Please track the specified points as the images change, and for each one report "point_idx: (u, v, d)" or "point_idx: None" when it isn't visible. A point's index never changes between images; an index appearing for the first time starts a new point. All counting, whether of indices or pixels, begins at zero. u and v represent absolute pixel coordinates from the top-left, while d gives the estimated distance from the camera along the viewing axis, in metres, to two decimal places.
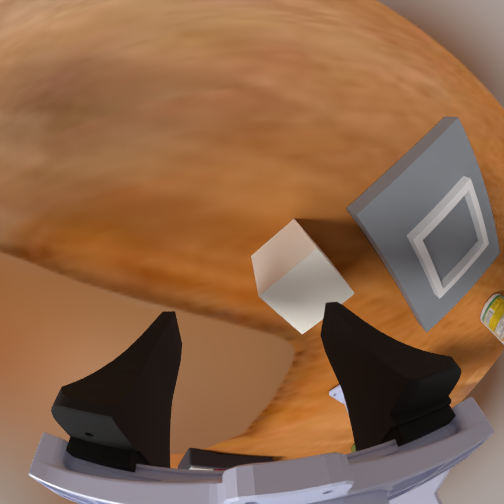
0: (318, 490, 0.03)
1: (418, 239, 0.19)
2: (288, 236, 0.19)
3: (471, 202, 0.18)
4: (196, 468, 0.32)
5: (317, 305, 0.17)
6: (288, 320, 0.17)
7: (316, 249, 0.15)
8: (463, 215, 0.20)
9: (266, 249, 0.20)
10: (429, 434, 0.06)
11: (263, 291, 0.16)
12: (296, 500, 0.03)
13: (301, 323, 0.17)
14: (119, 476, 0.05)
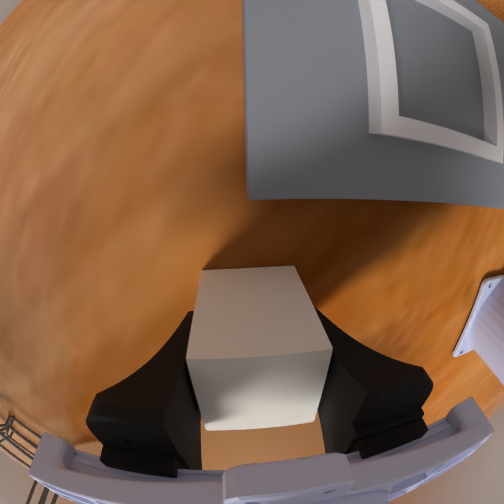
0: (318, 490, 0.03)
1: (390, 122, 0.08)
2: None
3: None
4: None
5: (289, 397, 0.09)
6: (274, 425, 0.09)
7: (188, 360, 0.08)
8: (419, 15, 0.07)
9: None
10: (398, 448, 0.06)
11: (205, 423, 0.09)
12: (296, 500, 0.03)
13: (296, 418, 0.09)
14: (119, 476, 0.05)
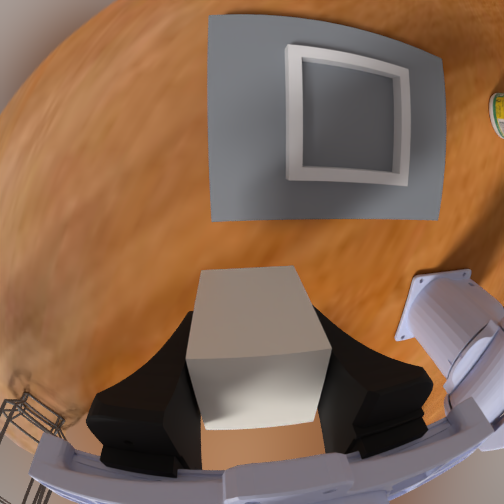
0: (318, 490, 0.03)
1: (295, 172, 0.15)
2: None
3: (325, 60, 0.13)
4: None
5: (288, 397, 0.09)
6: (273, 425, 0.09)
7: (188, 360, 0.08)
8: (337, 80, 0.14)
9: None
10: (398, 447, 0.06)
11: (204, 423, 0.09)
12: (296, 500, 0.03)
13: (295, 418, 0.09)
14: (119, 476, 0.05)
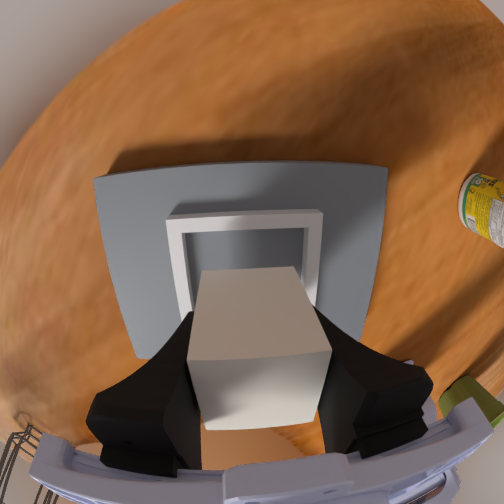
0: (318, 490, 0.03)
1: None
2: None
3: (210, 229, 0.15)
4: None
5: (289, 398, 0.09)
6: (273, 425, 0.10)
7: (189, 361, 0.08)
8: (230, 241, 0.16)
9: None
10: (398, 447, 0.06)
11: (205, 423, 0.09)
12: (296, 500, 0.03)
13: (295, 418, 0.09)
14: (119, 476, 0.05)
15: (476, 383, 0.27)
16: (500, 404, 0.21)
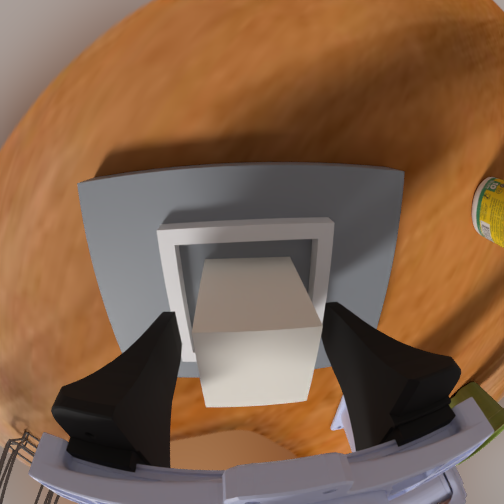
0: (318, 490, 0.03)
1: (187, 356, 0.16)
2: None
3: (207, 241, 0.13)
4: None
5: (283, 373, 0.10)
6: (269, 403, 0.11)
7: (193, 334, 0.09)
8: (229, 254, 0.14)
9: None
10: (429, 434, 0.06)
11: (205, 400, 0.10)
12: (296, 500, 0.03)
13: (290, 396, 0.11)
14: (119, 476, 0.05)
15: (481, 390, 0.25)
16: None
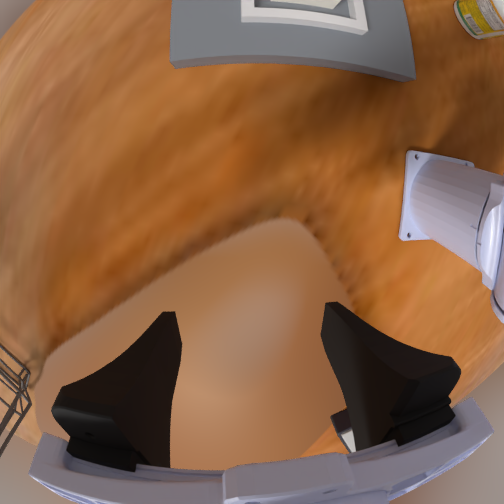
0: (318, 490, 0.03)
1: (248, 11, 0.12)
2: None
3: None
4: (347, 433, 0.29)
5: None
6: None
7: None
8: None
9: None
10: (429, 434, 0.06)
11: None
12: (296, 500, 0.03)
13: None
14: (119, 476, 0.05)
15: None
16: None
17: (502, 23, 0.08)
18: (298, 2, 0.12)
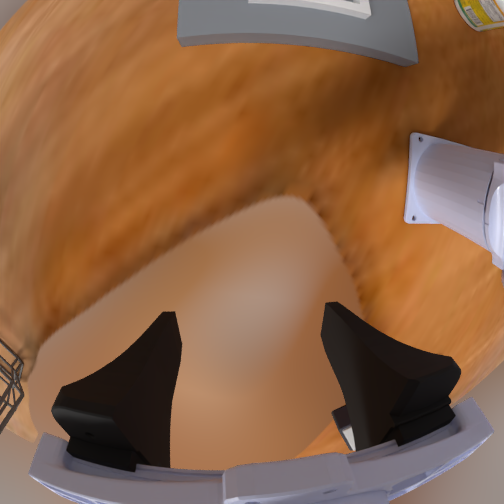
0: (318, 490, 0.03)
1: None
2: None
3: None
4: (348, 429, 0.28)
5: None
6: None
7: None
8: None
9: None
10: (429, 434, 0.06)
11: None
12: (296, 500, 0.03)
13: None
14: (119, 476, 0.05)
15: None
16: None
17: (501, 14, 0.07)
18: None
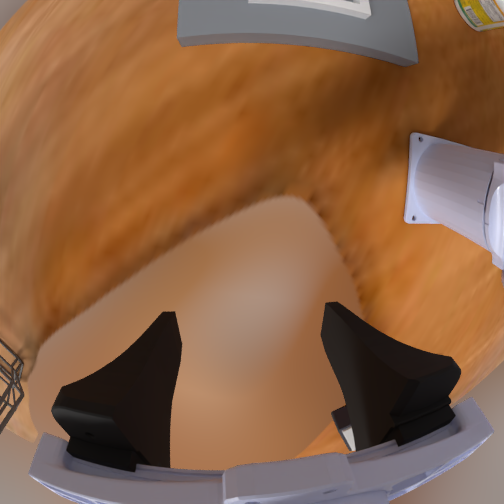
0: (318, 490, 0.03)
1: None
2: None
3: None
4: (348, 429, 0.29)
5: None
6: None
7: None
8: None
9: None
10: (429, 434, 0.06)
11: None
12: (296, 500, 0.03)
13: None
14: (119, 476, 0.05)
15: None
16: None
17: (501, 14, 0.07)
18: None
